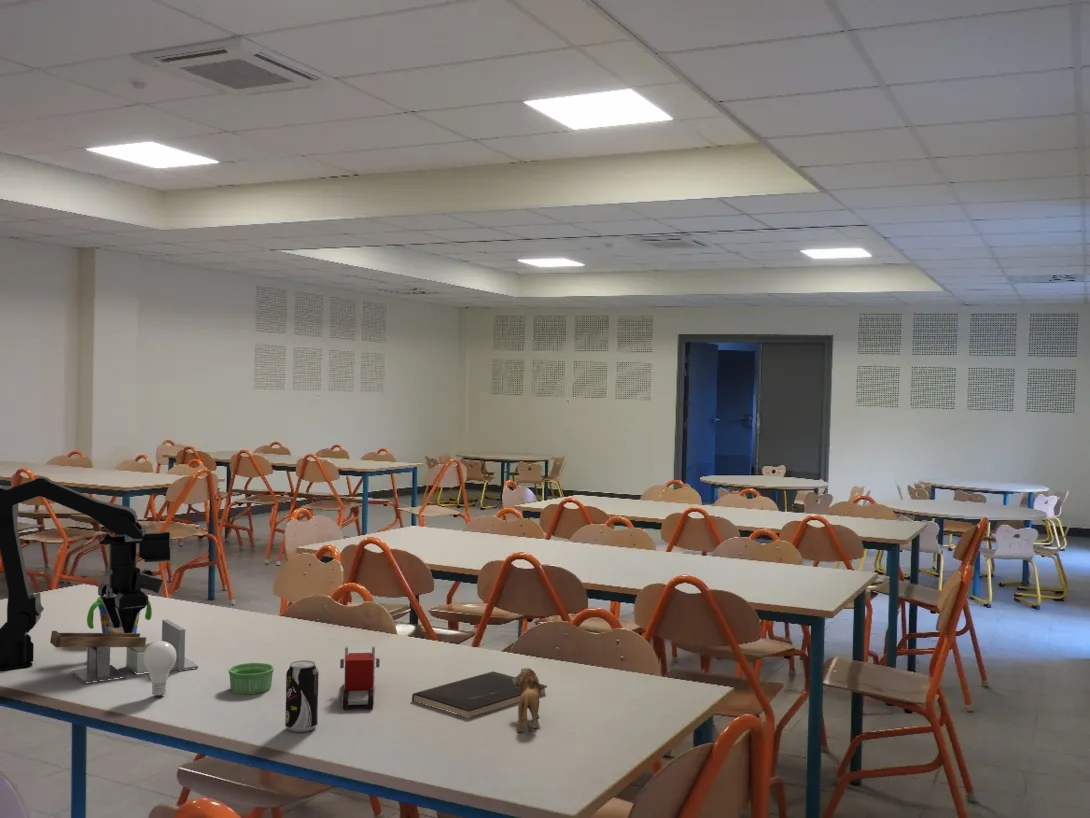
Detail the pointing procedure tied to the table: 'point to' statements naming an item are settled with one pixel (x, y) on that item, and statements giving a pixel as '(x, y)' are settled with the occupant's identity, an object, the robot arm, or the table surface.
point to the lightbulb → (159, 664)
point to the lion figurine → (528, 697)
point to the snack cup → (106, 620)
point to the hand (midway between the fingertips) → (122, 631)
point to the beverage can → (301, 696)
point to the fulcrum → (98, 666)
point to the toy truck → (359, 678)
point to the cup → (137, 659)
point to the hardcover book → (473, 694)
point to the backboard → (177, 643)
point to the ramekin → (250, 678)
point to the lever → (98, 639)
